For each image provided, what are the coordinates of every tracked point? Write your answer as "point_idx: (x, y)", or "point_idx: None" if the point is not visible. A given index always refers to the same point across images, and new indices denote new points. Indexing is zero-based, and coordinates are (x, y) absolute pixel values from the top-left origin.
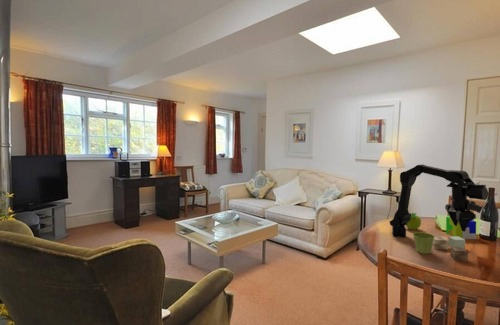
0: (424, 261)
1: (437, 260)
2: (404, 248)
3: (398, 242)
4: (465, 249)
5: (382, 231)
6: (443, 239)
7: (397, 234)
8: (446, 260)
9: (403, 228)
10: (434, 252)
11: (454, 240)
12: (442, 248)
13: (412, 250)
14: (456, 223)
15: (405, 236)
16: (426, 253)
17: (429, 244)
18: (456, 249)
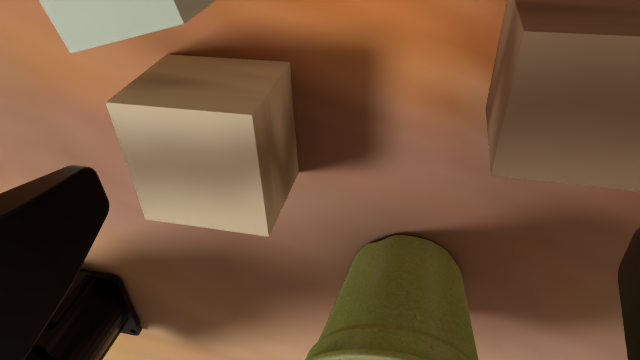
0: None
1: (609, 251)
2: None
3: (251, 339)
4: (623, 37)
5: None
6: (227, 152)
7: (120, 324)
8: None
9: (61, 336)
10: (403, 205)
11: (184, 20)
12: (290, 117)
13: None
14: (56, 216)
15: (112, 280)
16: (462, 278)
17: (470, 341)
18: (618, 158)
